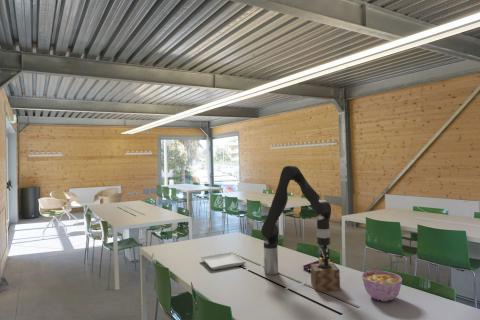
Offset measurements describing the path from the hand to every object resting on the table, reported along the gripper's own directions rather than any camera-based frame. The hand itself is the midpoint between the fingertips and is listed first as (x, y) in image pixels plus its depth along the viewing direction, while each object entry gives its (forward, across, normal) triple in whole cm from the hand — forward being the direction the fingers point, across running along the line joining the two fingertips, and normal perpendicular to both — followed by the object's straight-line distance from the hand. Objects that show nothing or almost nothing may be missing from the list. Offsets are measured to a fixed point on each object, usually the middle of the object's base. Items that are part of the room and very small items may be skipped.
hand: (324, 263), depth 197 cm
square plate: (+15, -51, -63) cm, 82 cm away
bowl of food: (+14, +18, +26) cm, 35 cm away
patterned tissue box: (+14, 0, 0) cm, 14 cm away
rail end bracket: (+7, 0, 0) cm, 7 cm away
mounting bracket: (+15, -28, +1) cm, 32 cm away
